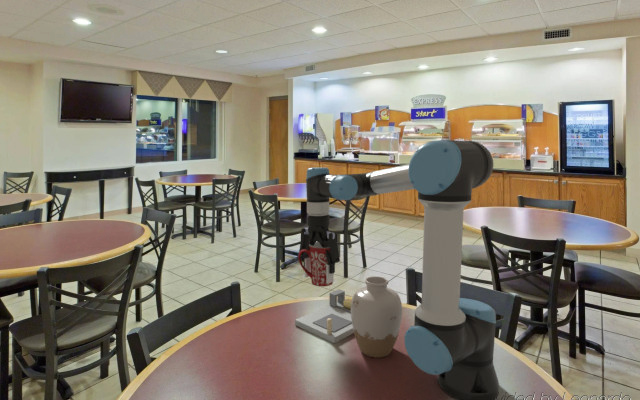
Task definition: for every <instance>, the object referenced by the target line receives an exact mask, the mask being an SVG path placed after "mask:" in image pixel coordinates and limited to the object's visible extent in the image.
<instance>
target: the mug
mask: <svg viewBox="0 0 640 400" xmlns="http://www.w3.org/2000/svg"><path fill="white" fill-rule="evenodd" d="M309 247H310V250H306V249H303V250H301V251H300V252H299V251H298V257H297V258H298V263H299V265H300V267H301V269H302V270H303V271H304V273H305V272H306V273H307V274H308V276H309V278H310V279H311V285H313V286H315V287H323V288H324V287H328V286H329V287H330V286H332V285H333V283H334V282H331V283H329V284H327V283H326V264H327V263H328V261H327V258H326V256H325V254H326V250H328V251H330V247H329V248H322V245H320V243H319V242H317V241H316V242H315V244H314V246H312V245H310V244H309ZM303 252H306V253H307V254H308V255H309V258H310V261H311V272H308V270H307V269H306V268H305V267H304V263H303V262H302V260H301V257H302V255H301V254H302V253H303Z"/></svg>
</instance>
